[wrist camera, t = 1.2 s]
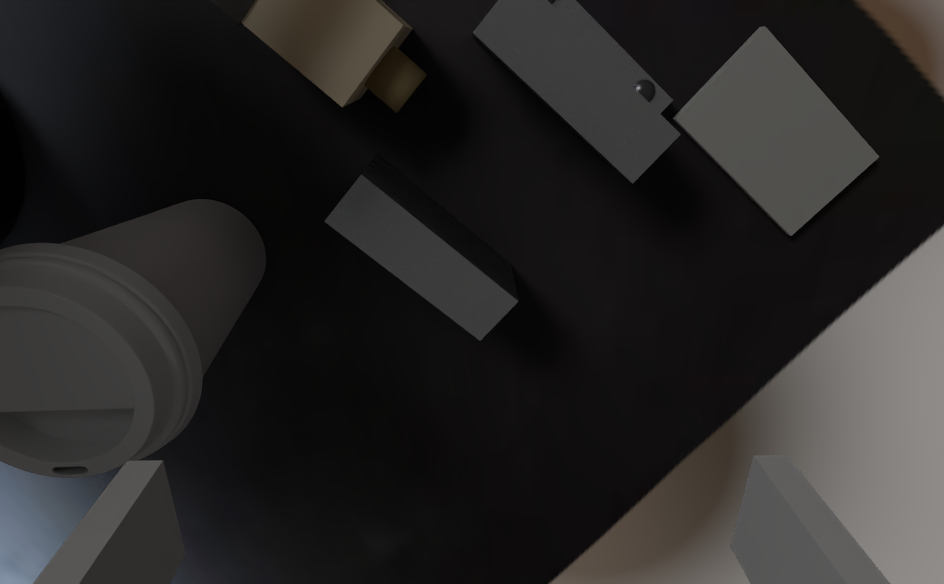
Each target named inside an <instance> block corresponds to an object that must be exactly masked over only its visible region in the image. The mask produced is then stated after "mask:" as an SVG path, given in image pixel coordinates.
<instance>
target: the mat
mask: <svg viewBox="0 0 944 584" xmlns="http://www.w3.org/2000/svg"><path fill="white" fill-rule="evenodd" d="M672 119H673V120H674V121H675V122H676V123H677V124H678V125H679V126H680V127H681V128H682V129H683V130H684V131H685V132H686V133H687V134H688V135H689V136H690V137H691V138H692V139H693V140H694V141H695V142H696V143H697V144H698V145H699V146H700V147H701V148H702V149H703V150H704V151H705V152H706V153H707V154H708V155H709V156H710V157H711V158H712V159H713V160H714V161H715V162H716V163H717V164H718V165H719V166H720V167H721V168H722V169H723V170H724V171H725V172H726V173H727V174H728V175H729V176H730V177H731V178H732V179H733V180H734V181H735V182H736V183H737V184H738V185H739V186H740V187H741V188H742V189H743V190H744V192H745V193H746V194H747V195H748V196H749V197H750V198H751V199H752V200H753V201H754V202H755V203H756V204H757V205H758V206H759V207H760V208H761V209H762V210H763V211H764V212H765V213H766V214H767V215H768V216H769V217H770V218H771V219H772V220H773V221H774V222H775V223H776V224H777V225H778V226H779V227H780V228H781V229H782V230H783V231H784V232H785V233H786V234H788V235H790V236H792V235H793V234H794V233H795V232H796V231H797V230H798V229H800V228H801V227H802V226H803V225H804V224H805V223H806V222H807V221H808V220H810V219H811V218H812V217H813V216H814V215H815V214H816V213H817V212H819V211H820V210H821V209H822V208H823V207H824V206H825V205H826V204H827V203H829V202H830V201H831V200H832V199H833V198H834V197H835V196H836V195H837V194H839V193H840V192H841V191H842V190H843V189H844V188H845V187H846V186H847V185H849V184H850V183H851V182H852V181H853V180H854V179H855V178H856V177H857V176H859V175H860V174H861V173H862V172H863V171H864V170H865V169H866V168H867V167H869V166H870V165H871V164H872V163H873V162H874V161H875V160H876V159H877V158H879V156H878V155H877V154H876V153H875V151H874V150H873V149H872V148H871V147H870V146H869V145H868V143H867V142H866V141H865V140H864V139H863V138H862V137H861V135H860V134H859V133H858V132H857V131H856V130H855V129H854V127H853V126H852V125H851V124H850V123H849V122H848V121H847V119H846V118H845V117H844V116H843V115H842V114H841V113H840V111H839V110H838V109H837V108H836V107H835V106H834V105H833V103H832V102H831V101H830V100H829V99H828V98H827V97H826V95H825V94H824V93H823V92H822V91H821V90H820V89H819V87H818V86H817V85H816V84H815V83H814V82H813V81H812V79H811V78H810V77H809V76H808V75H807V74H806V73H805V71H804V70H803V69H802V68H801V67H800V66H799V65H798V63H797V62H796V61H795V60H794V59H793V58H792V57H791V55H790V54H789V53H788V52H787V51H786V50H785V49H784V47H783V46H782V45H781V44H780V43H779V42H778V41H777V39H776V38H775V37H774V36H773V35H772V34H771V33H770V31H769V30H768V29H767V28H766V27H759V28H758V30H757V31H756V32H755V33H754V34H753V35H752V36H751V37H750V38H749V39H748V40H747V41H746V42H745V43H744V44H743V45H742V46H741V47H740V48H739V49H738V50H737V51H736V53H735V54H734V55H733V56H732V57H731V58H730V59H729V60H728V61H727V62H726V63H725V64H724V65H723V66H722V67H721V68H720V69H719V70H718V71H717V72H716V73H715V75H714V76H713V77H712V78H711V79H710V80H709V81H708V82H707V83H706V84H705V85H704V86H703V87H702V88H701V89H700V90H699V91H698V92H697V93H696V94H695V95H694V96H693V98H692V99H691V100H690V101H689V102H688V103H687V104H686V105H685V106H684V107H683V108H682V109H681V110H680V111H679V112H678V113H677V114H676V115H675V116H674V117H673V118H672Z"/></svg>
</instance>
